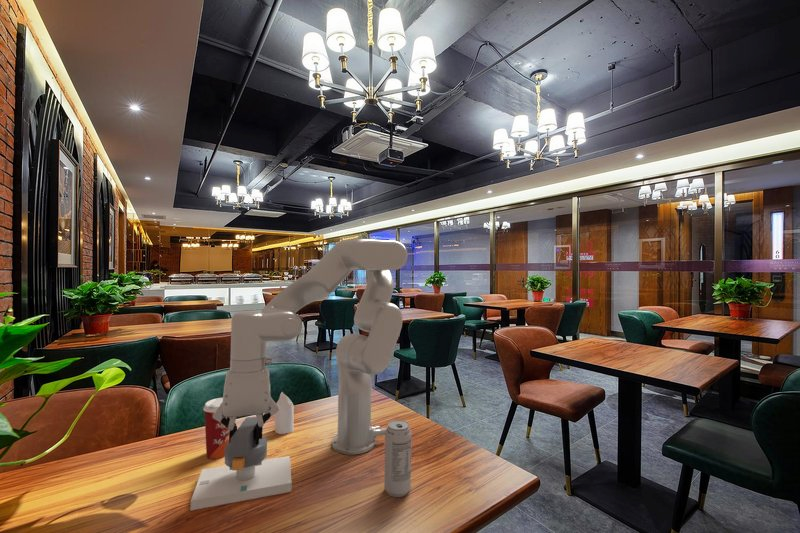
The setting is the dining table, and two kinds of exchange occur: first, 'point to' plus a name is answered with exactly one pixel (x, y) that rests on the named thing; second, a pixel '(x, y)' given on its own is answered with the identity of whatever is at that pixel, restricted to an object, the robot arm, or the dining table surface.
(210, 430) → the paper cup
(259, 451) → the lock knob
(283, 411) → the white pointed block
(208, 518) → the dining table surface
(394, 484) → the energy drink can
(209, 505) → the base
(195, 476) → the dining table surface
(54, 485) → the dining table surface
